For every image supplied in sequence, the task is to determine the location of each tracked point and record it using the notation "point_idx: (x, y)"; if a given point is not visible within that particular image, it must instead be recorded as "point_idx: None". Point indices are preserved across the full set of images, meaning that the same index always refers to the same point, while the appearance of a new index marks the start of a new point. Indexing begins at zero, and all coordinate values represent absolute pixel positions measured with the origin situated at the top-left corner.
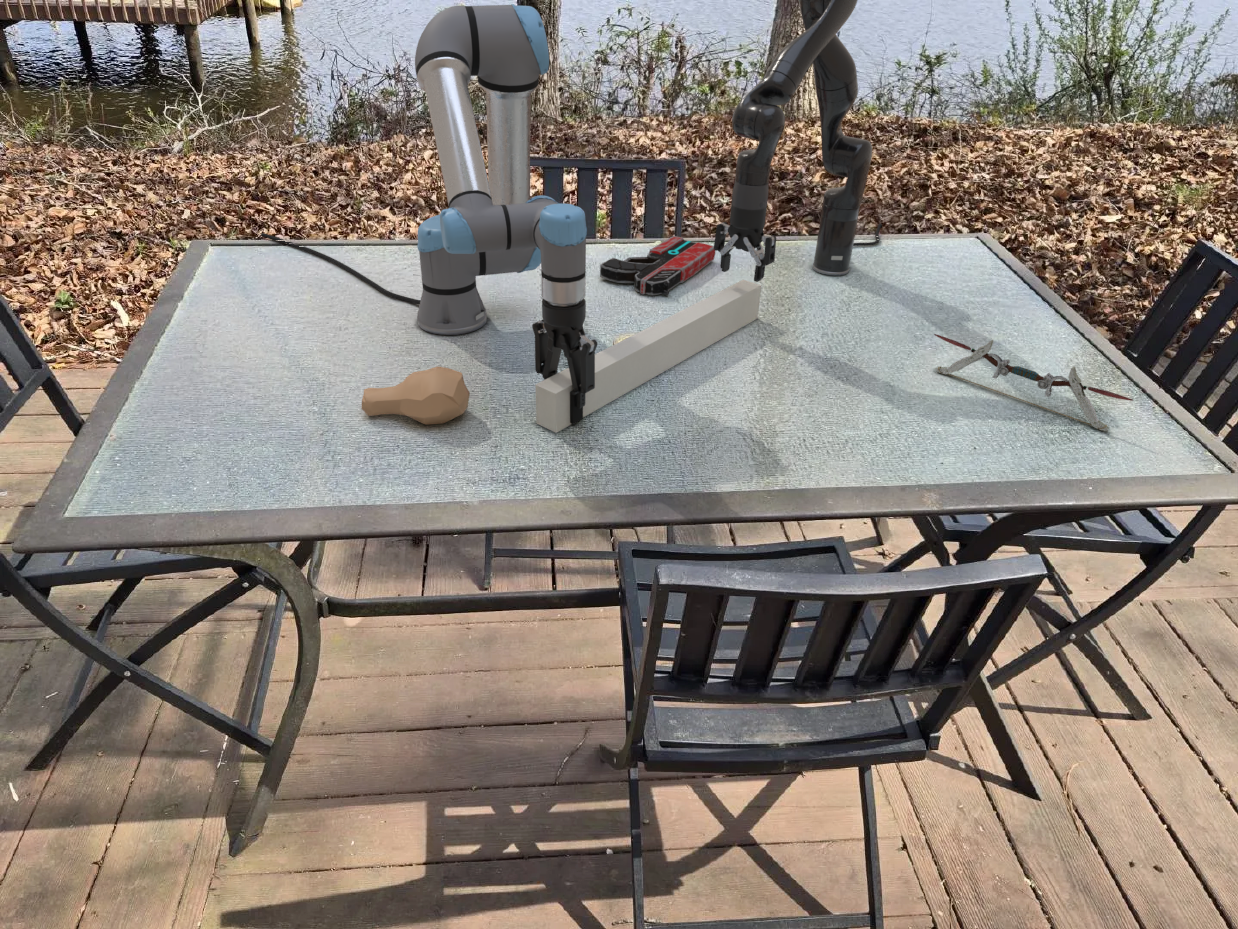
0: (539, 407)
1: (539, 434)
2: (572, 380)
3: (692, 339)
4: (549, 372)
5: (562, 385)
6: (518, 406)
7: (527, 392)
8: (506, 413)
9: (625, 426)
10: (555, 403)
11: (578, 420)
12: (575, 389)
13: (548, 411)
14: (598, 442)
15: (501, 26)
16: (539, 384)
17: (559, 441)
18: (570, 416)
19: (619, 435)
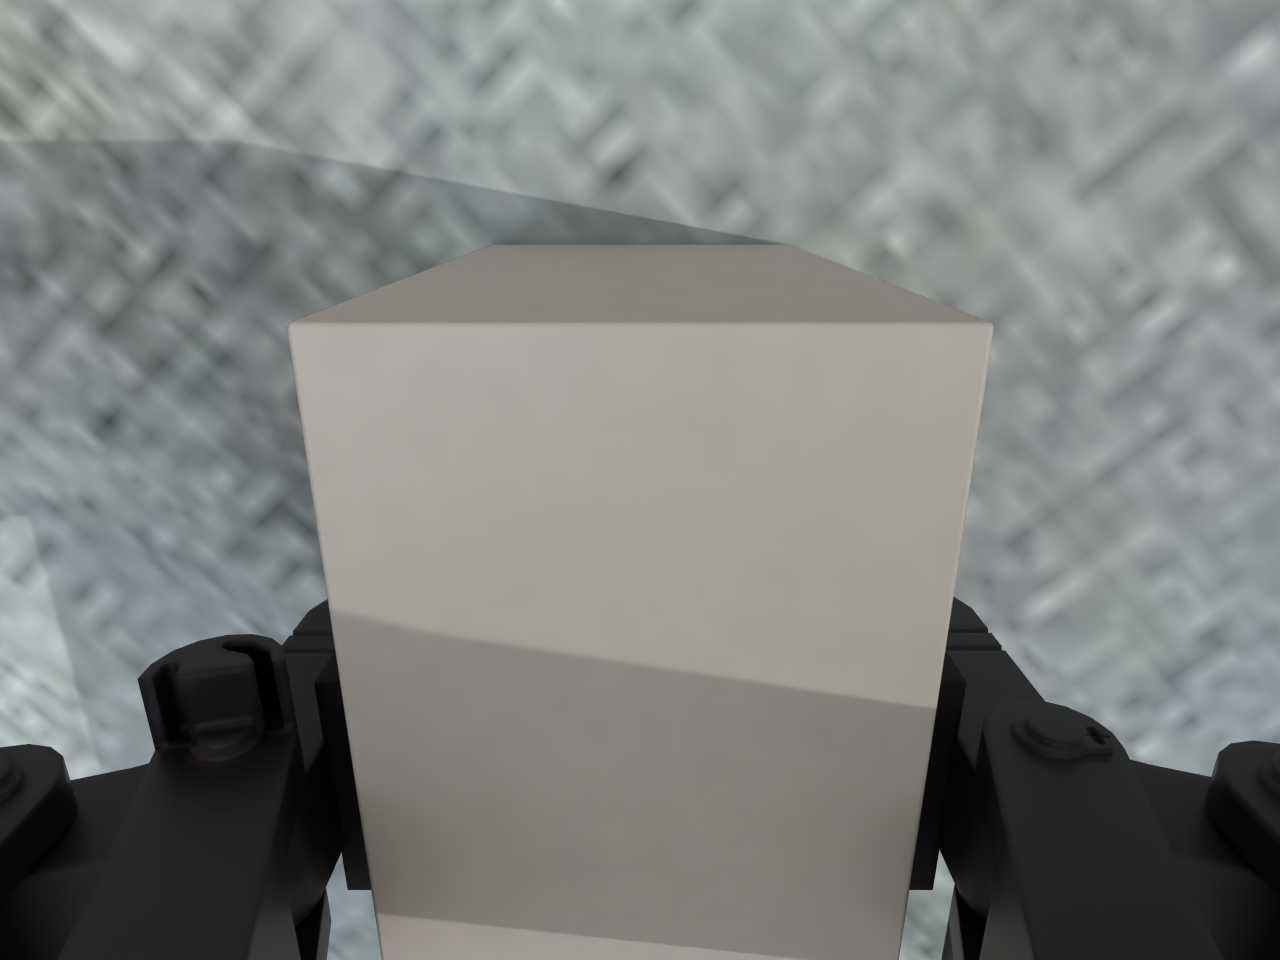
0: (768, 264)
1: (606, 90)
2: (221, 895)
3: None
4: (1001, 857)
5: (475, 689)
6: (1177, 378)
7: (1249, 628)
8: (1212, 174)
9: (149, 753)
10: (378, 289)
11: None
12: (217, 749)
13: (583, 265)
14: (66, 407)
15: None
16: (906, 395)
17: (337, 138)
18: None
19: (56, 621)
